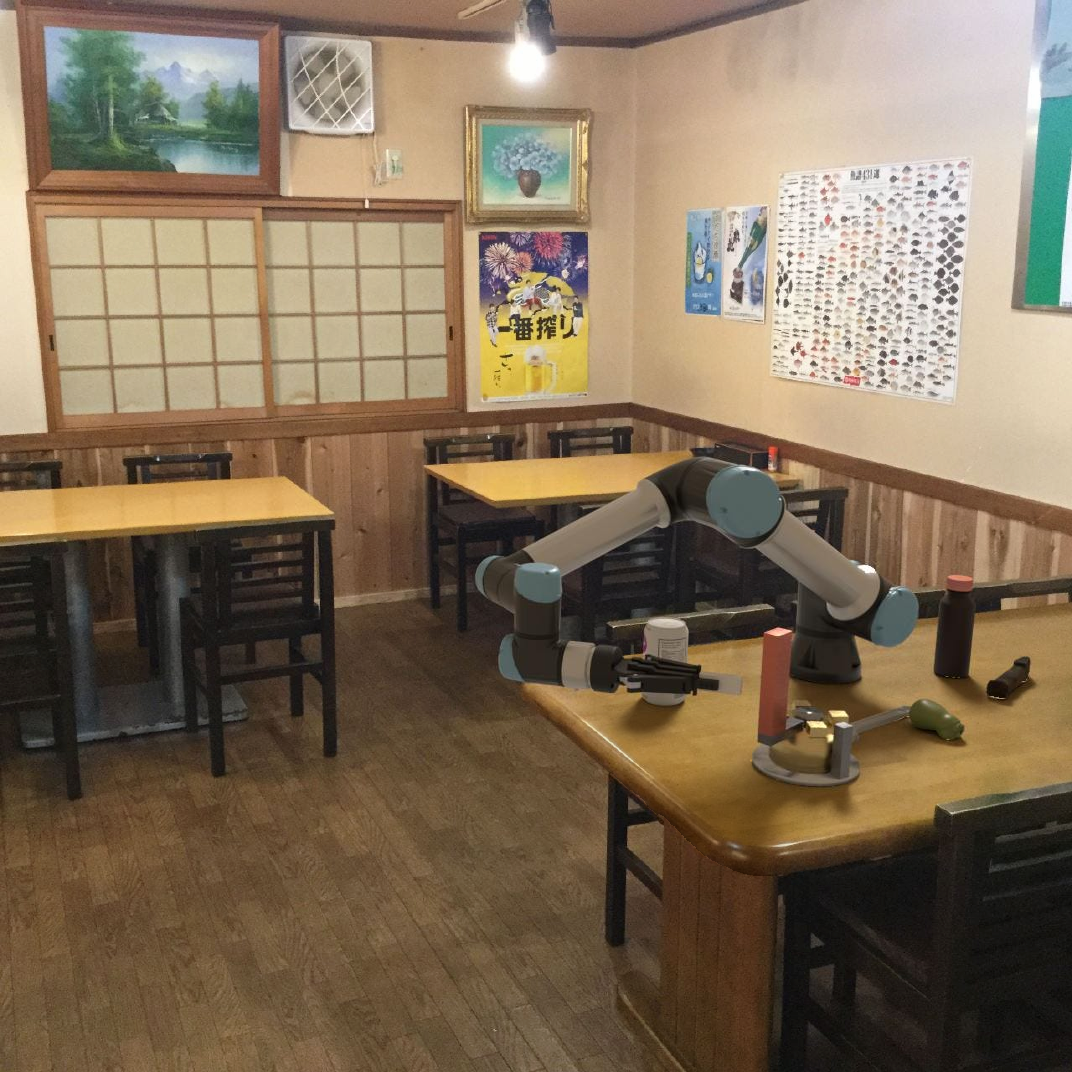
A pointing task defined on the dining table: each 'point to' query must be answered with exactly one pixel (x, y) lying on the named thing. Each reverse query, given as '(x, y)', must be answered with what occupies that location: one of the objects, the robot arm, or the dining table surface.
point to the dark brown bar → (1009, 678)
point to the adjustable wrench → (878, 720)
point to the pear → (935, 719)
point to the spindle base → (841, 773)
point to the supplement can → (665, 651)
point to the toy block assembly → (790, 714)
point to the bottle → (955, 628)
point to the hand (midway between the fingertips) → (741, 685)
